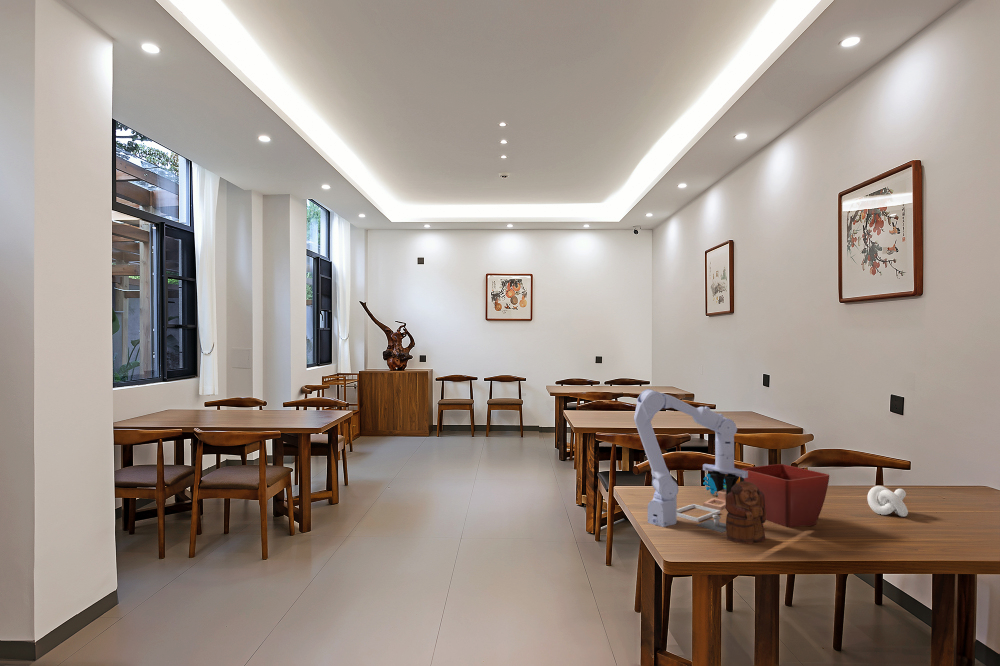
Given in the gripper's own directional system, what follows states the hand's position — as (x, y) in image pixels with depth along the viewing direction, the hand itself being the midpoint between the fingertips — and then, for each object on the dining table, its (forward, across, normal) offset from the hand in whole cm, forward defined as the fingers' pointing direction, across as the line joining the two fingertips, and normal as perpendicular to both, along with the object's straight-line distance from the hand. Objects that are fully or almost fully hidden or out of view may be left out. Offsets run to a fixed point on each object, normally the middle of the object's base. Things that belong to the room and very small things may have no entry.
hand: (724, 496), depth 181 cm
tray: (+9, +11, 0) cm, 14 cm away
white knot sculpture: (+10, -31, -56) cm, 64 cm away
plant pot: (+10, -11, -18) cm, 24 cm away
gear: (+10, +21, -34) cm, 41 cm away
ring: (+2, 0, +3) cm, 4 cm away
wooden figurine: (+10, -12, +10) cm, 19 cm away
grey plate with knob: (+9, 0, +6) cm, 11 cm away
